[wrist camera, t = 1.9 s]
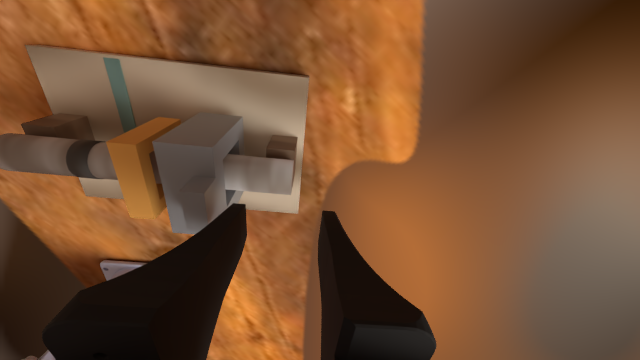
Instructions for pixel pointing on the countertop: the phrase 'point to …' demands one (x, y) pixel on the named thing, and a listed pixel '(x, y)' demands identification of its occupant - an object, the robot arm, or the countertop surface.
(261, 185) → the pipe rig
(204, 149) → the sleeve
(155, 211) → the orange square ring
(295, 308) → the countertop surface
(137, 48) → the countertop surface
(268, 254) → the countertop surface
